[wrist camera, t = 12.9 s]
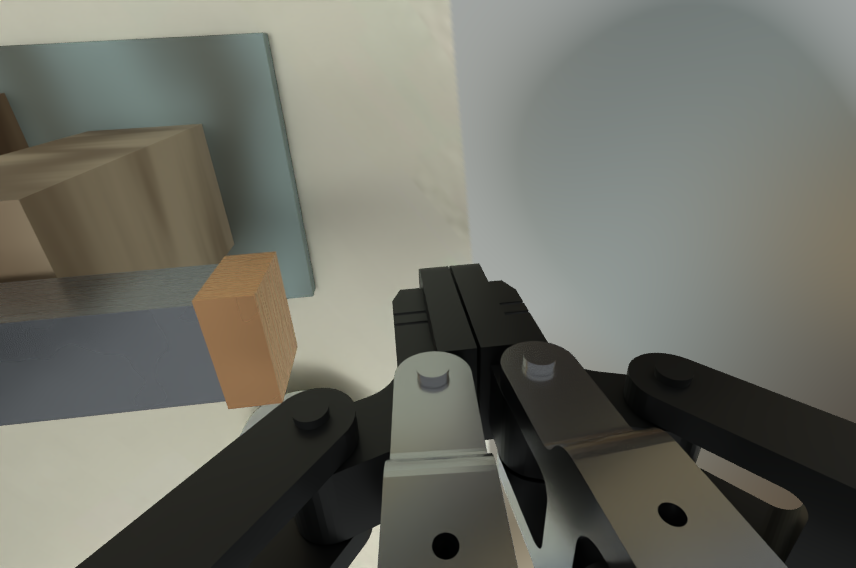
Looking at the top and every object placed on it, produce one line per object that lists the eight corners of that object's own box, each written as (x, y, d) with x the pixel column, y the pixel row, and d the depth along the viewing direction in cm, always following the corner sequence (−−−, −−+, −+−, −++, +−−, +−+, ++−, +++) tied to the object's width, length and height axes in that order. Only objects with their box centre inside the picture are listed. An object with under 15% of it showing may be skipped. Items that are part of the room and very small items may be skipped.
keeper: (-141, 390, 11) (-248, 461, 9) (-221, 294, 10) (-366, 353, 8) (297, 346, 12) (282, 403, 10) (276, 251, 11) (254, 295, 9)
